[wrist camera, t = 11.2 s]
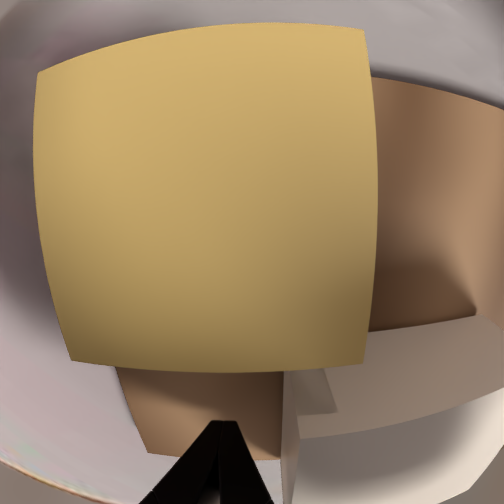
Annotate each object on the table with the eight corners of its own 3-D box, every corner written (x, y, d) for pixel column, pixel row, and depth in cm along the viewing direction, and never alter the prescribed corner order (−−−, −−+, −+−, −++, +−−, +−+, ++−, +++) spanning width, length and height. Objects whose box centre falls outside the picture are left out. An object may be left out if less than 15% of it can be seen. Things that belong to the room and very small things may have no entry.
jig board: (527, 127, 7) (585, 126, 4) (480, 398, 10) (511, 438, 7) (97, 104, 7) (28, 80, 4) (153, 436, 11) (133, 495, 7)
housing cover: (482, 314, 8) (546, 365, 4) (437, 433, 9) (468, 489, 6) (284, 339, 8) (300, 438, 4) (280, 463, 9) (285, 538, 6)
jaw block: (306, 104, 6) (363, 29, 2) (311, 269, 7) (363, 363, 3) (140, 116, 6) (38, 72, 3) (152, 274, 7) (71, 360, 4)
